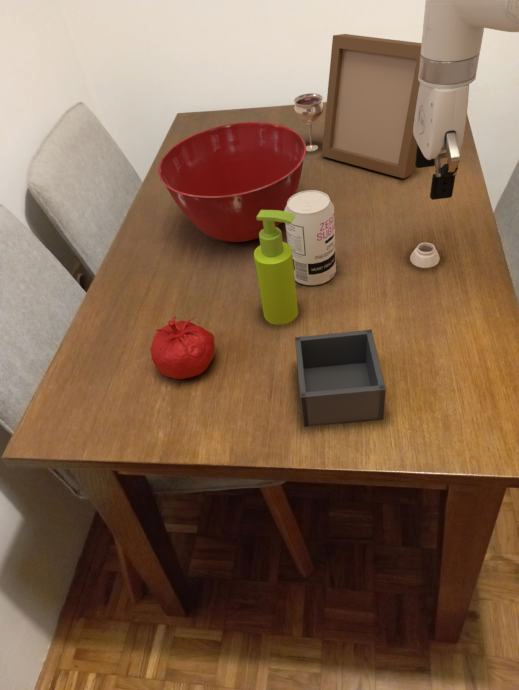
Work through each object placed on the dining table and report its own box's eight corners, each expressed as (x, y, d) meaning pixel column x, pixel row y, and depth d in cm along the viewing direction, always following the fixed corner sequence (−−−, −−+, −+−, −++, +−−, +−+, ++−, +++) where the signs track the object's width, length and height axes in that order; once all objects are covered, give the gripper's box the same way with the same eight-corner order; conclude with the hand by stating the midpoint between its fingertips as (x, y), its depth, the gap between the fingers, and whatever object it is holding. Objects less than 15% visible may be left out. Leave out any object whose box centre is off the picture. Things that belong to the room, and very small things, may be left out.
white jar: (405, 256, 96) (418, 272, 93) (406, 243, 94) (419, 259, 90) (430, 249, 96) (444, 265, 93) (432, 236, 94) (446, 251, 91)
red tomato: (210, 389, 80) (197, 348, 74) (149, 385, 82) (131, 345, 76) (224, 342, 87) (214, 300, 80) (168, 340, 89) (153, 299, 82)
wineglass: (292, 153, 129) (287, 103, 120) (306, 140, 132) (303, 91, 124) (316, 157, 126) (313, 107, 117) (330, 145, 129) (328, 95, 120)
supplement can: (294, 259, 100) (287, 188, 89) (338, 260, 98) (336, 188, 87) (287, 287, 94) (279, 215, 84) (333, 289, 92) (331, 215, 82)
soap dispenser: (298, 329, 87) (287, 227, 72) (259, 323, 89) (241, 222, 75) (308, 306, 90) (299, 204, 76) (270, 300, 93) (255, 200, 78)
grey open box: (371, 329, 75) (294, 337, 76) (385, 389, 67) (300, 397, 68) (370, 361, 80) (298, 368, 81) (383, 421, 72) (303, 428, 73)
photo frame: (403, 182, 113) (412, 57, 95) (321, 159, 125) (316, 44, 107) (437, 152, 120) (452, 30, 102) (357, 133, 131) (358, 21, 113)
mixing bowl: (184, 280, 100) (163, 209, 88) (171, 204, 119) (152, 138, 108) (327, 247, 101) (324, 173, 90) (291, 177, 121) (285, 110, 110)
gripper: (406, 48, 77) (397, 158, 90) (436, 95, 65) (421, 214, 78) (458, 41, 77) (442, 152, 89) (497, 87, 65) (473, 208, 77)
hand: (432, 181), depth 83 cm, fingers open, 9 cm apart
